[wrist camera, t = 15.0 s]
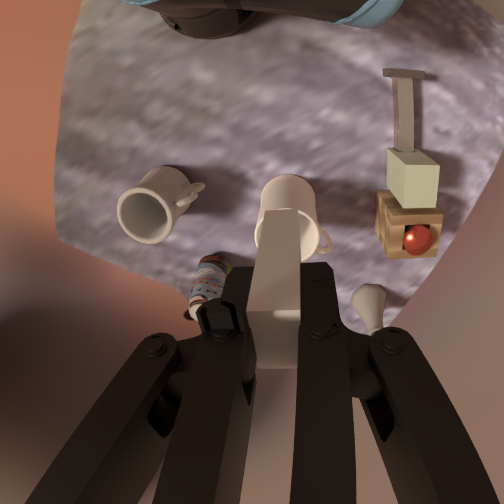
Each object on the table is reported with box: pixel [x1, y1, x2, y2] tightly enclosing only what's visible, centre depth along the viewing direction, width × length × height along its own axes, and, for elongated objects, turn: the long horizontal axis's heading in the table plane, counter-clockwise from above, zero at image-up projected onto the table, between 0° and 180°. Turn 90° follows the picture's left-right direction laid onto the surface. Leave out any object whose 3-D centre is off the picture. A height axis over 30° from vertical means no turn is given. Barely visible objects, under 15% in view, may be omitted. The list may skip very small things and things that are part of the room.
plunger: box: [403, 225, 433, 256], centre depth 41 cm, size 4×4×7 cm
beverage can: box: [188, 255, 232, 321], centre depth 52 cm, size 6×7×12 cm
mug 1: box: [117, 166, 205, 244], centre depth 45 cm, size 12×9×10 cm
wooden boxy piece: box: [375, 190, 444, 260], centre depth 42 cm, size 7×8×9 cm
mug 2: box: [255, 175, 332, 262], centre depth 43 cm, size 12×8×12 cm
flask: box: [350, 284, 387, 336], centre depth 52 cm, size 7×7×10 cm
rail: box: [383, 68, 425, 152], centre depth 38 cm, size 19×5×4 cm, turn 8°
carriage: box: [387, 148, 440, 208], centre depth 38 cm, size 6×5×8 cm
